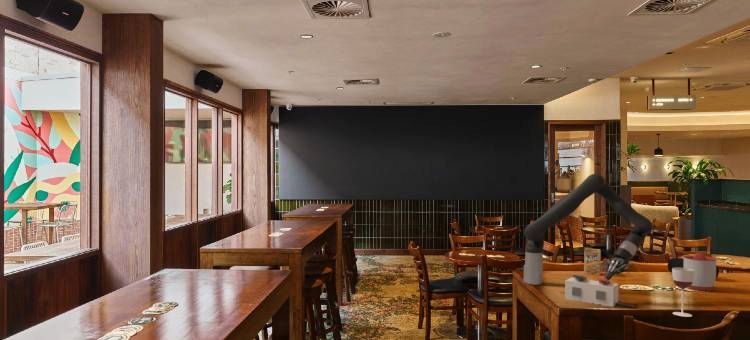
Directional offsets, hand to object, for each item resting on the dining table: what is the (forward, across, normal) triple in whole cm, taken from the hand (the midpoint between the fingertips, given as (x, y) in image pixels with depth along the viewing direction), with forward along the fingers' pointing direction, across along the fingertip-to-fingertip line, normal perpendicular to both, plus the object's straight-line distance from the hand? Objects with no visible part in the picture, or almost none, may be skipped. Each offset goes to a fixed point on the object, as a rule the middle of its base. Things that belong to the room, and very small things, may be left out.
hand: (606, 278), depth 252 cm
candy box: (-24, -54, +40) cm, 71 cm away
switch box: (+11, +1, +4) cm, 12 cm away
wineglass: (-2, +29, +18) cm, 34 cm away
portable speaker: (-62, -28, +78) cm, 104 cm away
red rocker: (+4, +2, -2) cm, 5 cm away
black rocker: (+8, -8, -6) cm, 12 cm away
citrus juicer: (-43, -4, +58) cm, 72 cm away
